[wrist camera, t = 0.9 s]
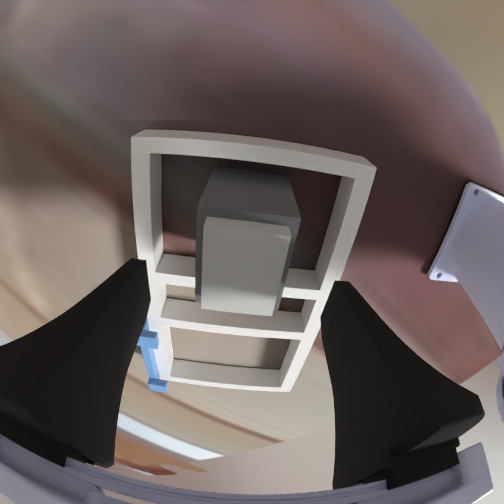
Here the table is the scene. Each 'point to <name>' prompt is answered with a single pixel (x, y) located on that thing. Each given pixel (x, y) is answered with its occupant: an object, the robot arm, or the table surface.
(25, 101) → the table surface
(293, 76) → the table surface
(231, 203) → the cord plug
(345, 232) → the white cubby shelf
